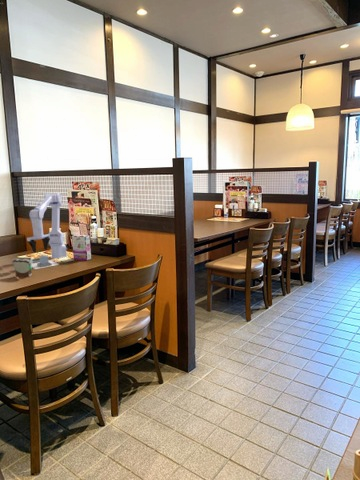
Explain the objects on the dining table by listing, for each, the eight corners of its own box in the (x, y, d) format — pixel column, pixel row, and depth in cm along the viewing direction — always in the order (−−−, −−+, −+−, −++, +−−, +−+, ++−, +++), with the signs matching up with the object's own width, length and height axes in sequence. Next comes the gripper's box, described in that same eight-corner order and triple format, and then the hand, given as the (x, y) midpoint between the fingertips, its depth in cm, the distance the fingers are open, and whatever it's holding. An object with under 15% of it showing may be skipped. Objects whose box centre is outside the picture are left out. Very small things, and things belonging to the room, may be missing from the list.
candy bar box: (91, 259, 235) (90, 235, 232) (87, 260, 231) (85, 236, 227) (78, 258, 239) (76, 234, 236) (73, 259, 235) (71, 235, 232)
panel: (45, 259, 239) (45, 256, 238) (59, 265, 221) (59, 262, 220) (22, 263, 229) (22, 260, 229) (35, 270, 211) (34, 267, 211)
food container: (39, 274, 201) (37, 257, 199) (31, 277, 196) (29, 260, 194) (21, 273, 205) (20, 256, 203) (13, 276, 200) (11, 259, 198)
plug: (46, 264, 222) (45, 254, 221) (48, 265, 219) (47, 255, 218) (40, 265, 220) (39, 255, 219) (42, 266, 217) (41, 256, 216)
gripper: (44, 227, 224) (46, 247, 226) (23, 230, 212) (25, 252, 215) (51, 227, 220) (53, 248, 222) (29, 231, 208) (32, 253, 211)
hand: (40, 250), depth 218 cm, fingers open, 7 cm apart
